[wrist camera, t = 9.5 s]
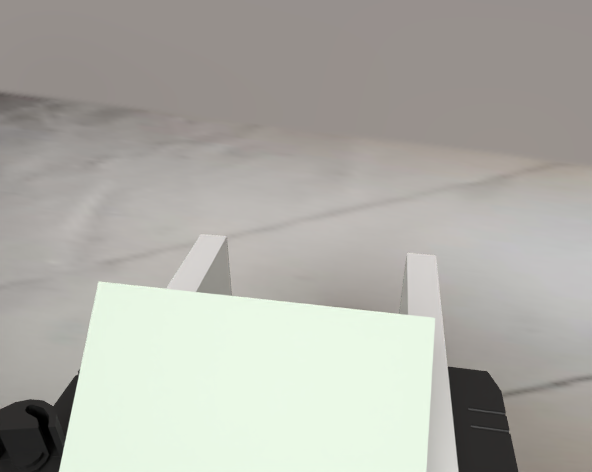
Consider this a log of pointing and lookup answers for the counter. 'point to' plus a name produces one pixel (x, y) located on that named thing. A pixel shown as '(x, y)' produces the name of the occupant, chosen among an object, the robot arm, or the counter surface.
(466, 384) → the robot arm
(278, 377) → the sage block
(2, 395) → the counter surface
